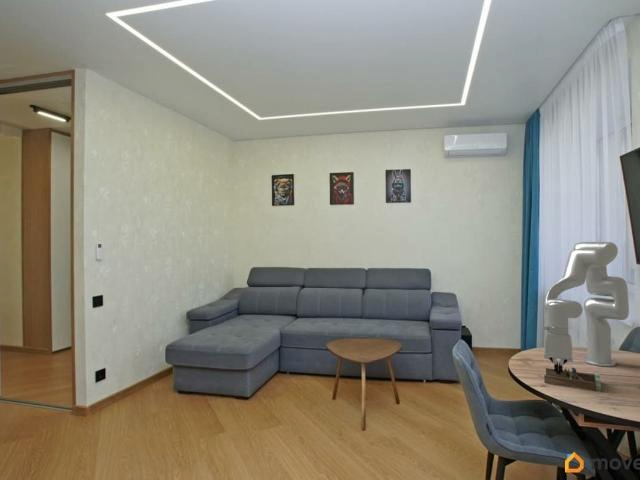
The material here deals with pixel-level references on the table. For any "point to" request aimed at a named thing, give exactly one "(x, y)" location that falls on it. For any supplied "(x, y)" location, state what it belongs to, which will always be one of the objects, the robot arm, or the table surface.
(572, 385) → the walnut guide
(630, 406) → the table surface
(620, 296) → the robot arm
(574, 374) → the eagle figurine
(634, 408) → the table surface
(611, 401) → the table surface
